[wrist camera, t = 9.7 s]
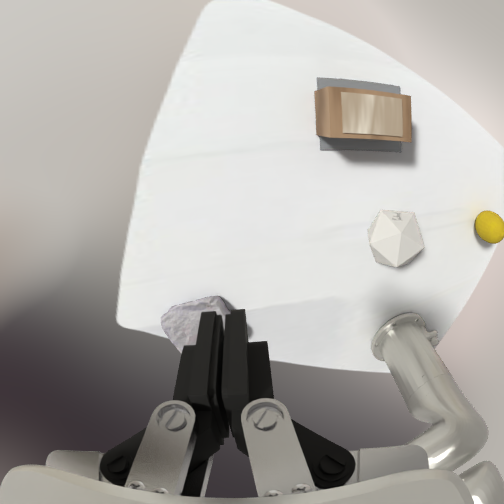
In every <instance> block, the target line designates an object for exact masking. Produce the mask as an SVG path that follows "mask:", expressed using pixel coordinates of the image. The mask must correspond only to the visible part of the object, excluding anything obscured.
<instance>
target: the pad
mask: <svg viewBox="0 0 504 504" xmlns="http://www.w3.org/2000/svg"><path fill="white" fill-rule="evenodd" d="M327 86H331V87H345V88H356V89H366V90H374V91H382V92H389V93H395V94H400V87H399V86H394V85H387V84H381V83H374V82H366V81H357V80H347V79H334V78H317V89H318V90H320V89H322V88H325V87H327ZM320 150H369V151H389V152H401V141H391V140H378V139H359V138H329V137H324V136H320Z"/></svg>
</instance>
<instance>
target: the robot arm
mask: <svg viewBox="0 0 504 504" xmlns="http://www.w3.org/2000/svg"><path fill="white" fill-rule="evenodd" d="M436 336H437V331H436V330H435V331H431V332H427V331H426V329H425V322H424V320H423V319H422V318H421V317H420V316H419V315H418V314H415V313H406V314H402V315H399V316H397V317H395V318H393V319H391V320H390V321H388V322H387V323H386V324H385V325H383V326H382V327H381V329H380V330H379V331H378V332H377V334H376V335H375V337H374V339H373V341H372V345H371V349H372V353H373V355H374V356H375V358H376V359H378V360H380V361H385V362H386V364H387V366H388V368H389V370H390V372H391V374H392V376H393V378H394V380H395V382H396V384H397V386H398V388H399V390H400V393H401V395H402V397H403V399H404V401H405V403H406V405H407V408H408V410H409V412H410V413H411V415H412V416H413V417H414V418H416V419H418V420H420V421H423V422H428V423H432V426H431V427H430V428H429V429H428V430H426V431H425V432H424V433H422V434H420V435H419V436H417V437H416V438H414V439H413V440H411V441H409V442H408V443H406V444H404V445H403V446H394V447H382V448H367V449H366V448H365V449H359V451H347V450H346V449H344V448H342V447H341V446H339V445H336V444H335V443H333V442H331V441H329V440H327V439H325V438H323V437H322V436H320V435H318V434H316V433H314V432H313V431H311V430H309V429H307V428H305V427H304V426H302V425H300V424H299V423H296V422H295V421H294V420H292V419H291V418H290V415H289V412H288V410H287V409H286V407H285V406H284V405H283V404H282V403H281V402H279V401H277V400H275V399H274V395H273V387H272V378H271V369H270V361H269V352H268V344H267V341H262V342H248V334H247V324H246V314H245V309H240V310H231V314H226V315H225V330H224V326H223V319H222V315H221V314H220V315H217V313H216V311H207V312H201V316H200V322H199V328H198V334H197V340H196V345H184V347H183V350H182V355H181V360H180V365H179V370H178V375H177V380H176V385H175V390H174V396H173V400H172V401H167V402H164V403H163V404H160V405H159V406H158V407H157V408H156V409H155V411H154V412H153V414H152V416H151V419H150V421H149V424H148V427H146V428H145V429H143V430H142V431H140V432H139V433H137V434H135V435H134V436H132V437H131V438H129V439H127V440H126V441H124V442H122V443H121V444H119V445H117V446H116V447H114V448H112V449H111V450H109V451H108V452H106V453H103V454H101V453H100V452H99V451H65V450H56V451H53V452H52V453H50V454H49V456H48V457H47V460H46V466H42V465H22V466H18V467H15V468H13V469H11V470H10V471H9V472H8V473H7V474H6V476H5V478H4V480H3V481H2V484H1V486H0V504H504V482H503V479H502V477H501V475H500V473H499V471H498V469H497V468H496V466H495V465H494V464H493V463H492V462H490V461H483V462H481V463H478V464H476V465H475V466H473V467H471V468H470V469H468V470H467V471H465V472H463V473H462V474H460V475H457V474H455V473H454V472H452V471H454V470H455V469H457V468H458V467H460V466H461V465H463V464H464V463H466V462H467V461H469V460H470V459H471V458H473V457H474V456H475V455H476V454H477V453H478V452H479V451H480V450H481V449H482V448H483V447H484V445H485V443H486V441H487V439H488V427H487V425H486V423H485V421H484V420H483V418H482V417H481V415H480V414H479V413H478V412H477V411H476V410H475V408H474V407H473V406H472V405H471V404H470V402H469V401H468V400H467V398H466V397H465V396H464V394H463V393H462V391H461V390H460V389H459V387H458V385H457V384H456V382H455V380H454V379H453V377H452V376H451V374H450V372H449V371H448V370H447V368H446V367H445V365H444V363H443V361H442V360H441V358H440V357H439V355H438V354H437V353H436V351H435V349H434V348H433V346H436V345H438V342H439V341H438V338H437V337H436ZM432 337H433V338H432ZM229 425H230V429H231V432H232V435H233V437H235V441H236V444H237V448H238V449H239V450H240V451H242V452H243V453H244V454H245V455H247V456H248V457H249V459H250V464H251V468H252V472H253V476H254V480H255V485H256V489H257V493H258V498H204V496H205V492H206V488H207V483H208V479H209V474H210V470H211V465H212V461H213V454H214V453H216V452H217V451H218V450H219V449H220V445H223V444H224V438H228V437H229Z"/></svg>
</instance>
